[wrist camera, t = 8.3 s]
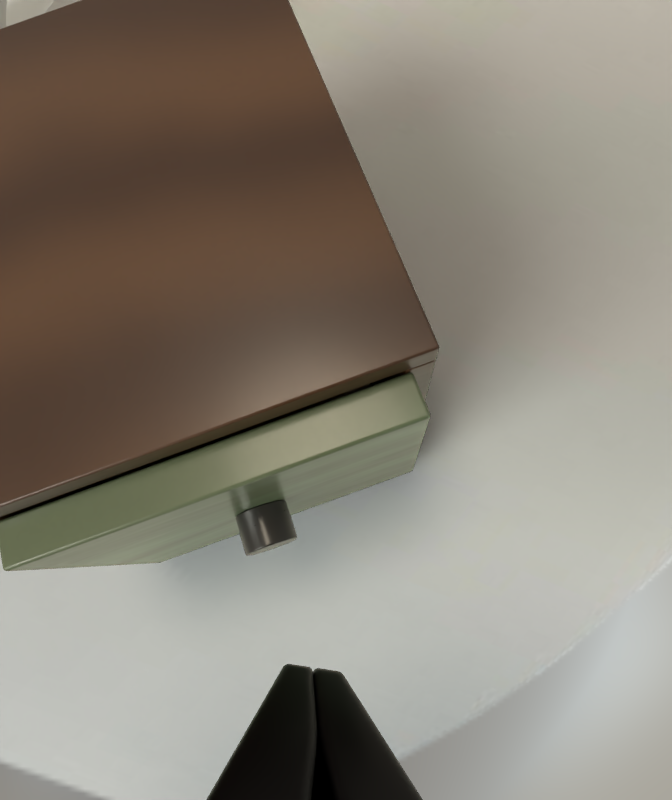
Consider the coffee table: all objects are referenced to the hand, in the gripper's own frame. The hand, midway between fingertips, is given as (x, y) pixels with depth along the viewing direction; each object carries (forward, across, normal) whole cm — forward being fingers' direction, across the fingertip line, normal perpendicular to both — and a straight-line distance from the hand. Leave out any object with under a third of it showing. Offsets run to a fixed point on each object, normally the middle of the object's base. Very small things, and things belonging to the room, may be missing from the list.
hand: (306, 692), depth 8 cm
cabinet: (+17, +4, -2) cm, 18 cm away
